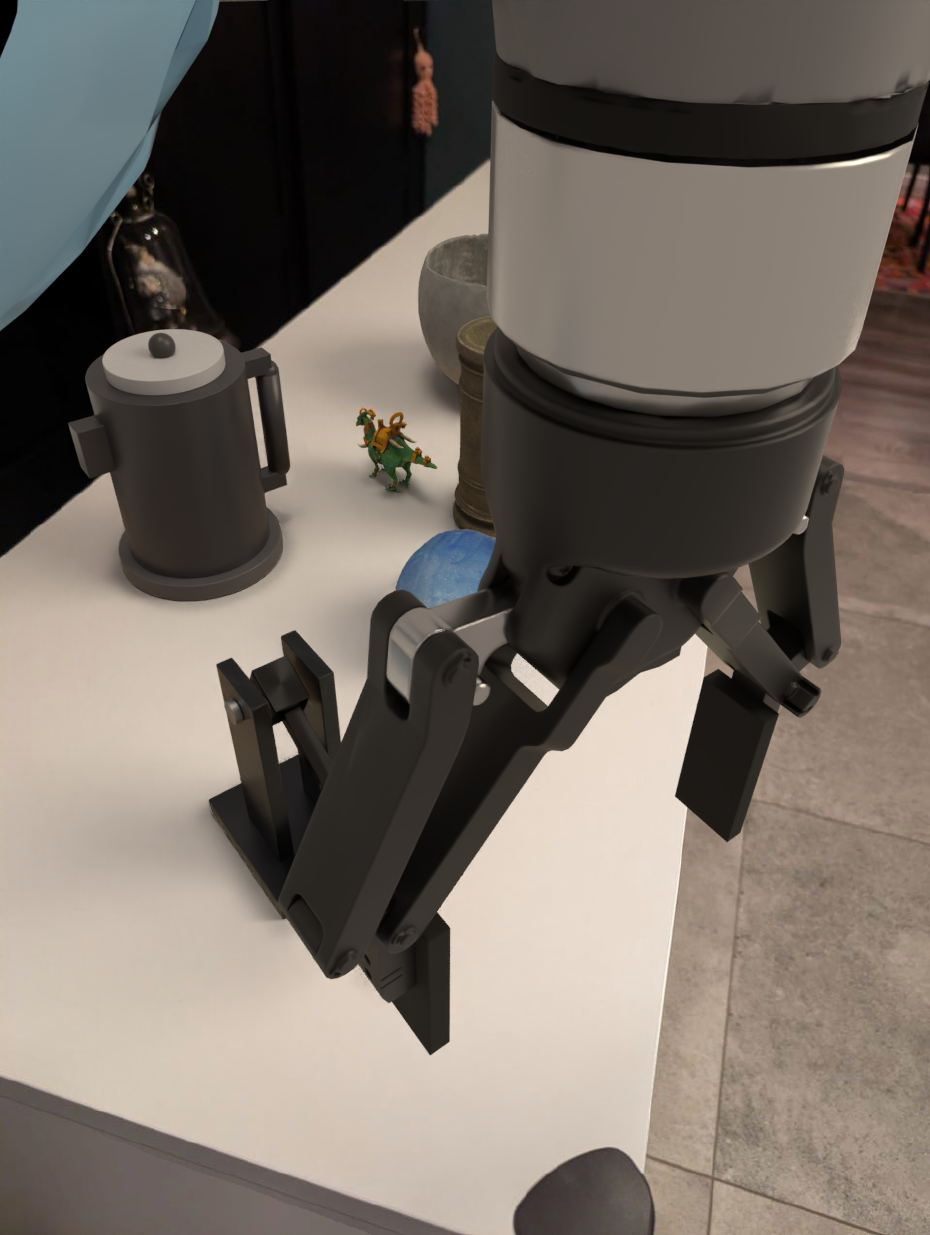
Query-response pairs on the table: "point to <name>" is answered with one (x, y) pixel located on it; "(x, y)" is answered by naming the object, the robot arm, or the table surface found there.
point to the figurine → (390, 447)
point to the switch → (292, 712)
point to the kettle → (187, 460)
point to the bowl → (452, 295)
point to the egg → (447, 566)
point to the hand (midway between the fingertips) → (574, 906)
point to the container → (472, 428)
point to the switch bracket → (273, 767)
